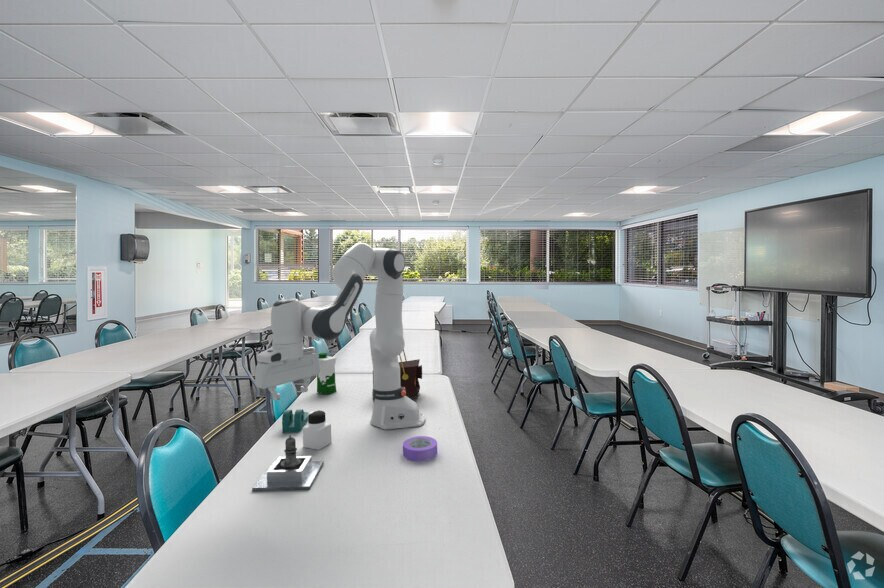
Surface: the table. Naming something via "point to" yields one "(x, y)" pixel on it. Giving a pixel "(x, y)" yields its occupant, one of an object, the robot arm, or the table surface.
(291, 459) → the chess piece
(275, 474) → the plate
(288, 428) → the bracket
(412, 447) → the masking tape
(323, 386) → the milk carton
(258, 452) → the table surface
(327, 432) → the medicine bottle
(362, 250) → the robot arm
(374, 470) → the table surface
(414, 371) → the dark brown boxy piece
